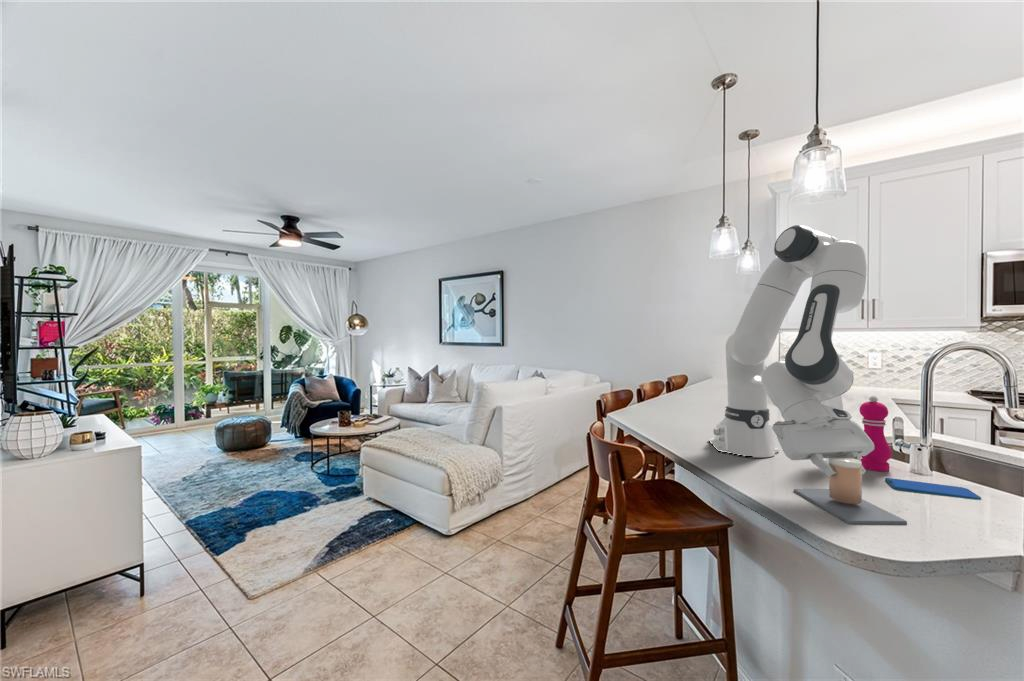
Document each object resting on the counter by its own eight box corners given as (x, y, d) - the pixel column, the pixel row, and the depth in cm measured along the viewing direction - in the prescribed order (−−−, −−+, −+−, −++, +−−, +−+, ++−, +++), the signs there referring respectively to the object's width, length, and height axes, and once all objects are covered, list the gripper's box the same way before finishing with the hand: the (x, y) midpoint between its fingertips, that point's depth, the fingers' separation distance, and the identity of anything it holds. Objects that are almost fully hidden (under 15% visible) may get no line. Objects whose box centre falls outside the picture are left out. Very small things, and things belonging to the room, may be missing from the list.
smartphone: (983, 498, 91) (894, 486, 98) (983, 503, 91) (894, 490, 98) (965, 487, 97) (883, 477, 104) (965, 491, 97) (883, 480, 104)
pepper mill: (877, 464, 117) (877, 394, 117) (899, 472, 110) (898, 398, 109) (850, 463, 117) (849, 394, 117) (870, 471, 110) (869, 398, 110)
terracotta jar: (823, 493, 92) (822, 456, 92) (848, 494, 91) (848, 456, 91) (841, 503, 86) (841, 463, 86) (868, 503, 86) (868, 463, 86)
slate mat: (793, 491, 98) (793, 488, 98) (841, 491, 97) (841, 488, 97) (848, 523, 81) (848, 520, 81) (906, 524, 80) (906, 521, 80)
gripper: (776, 414, 94) (812, 470, 85) (854, 411, 97) (898, 464, 87) (762, 429, 99) (795, 484, 89) (837, 425, 101) (877, 478, 92)
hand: (847, 474), depth 88 cm, fingers closed on terracotta jar, 5 cm apart
